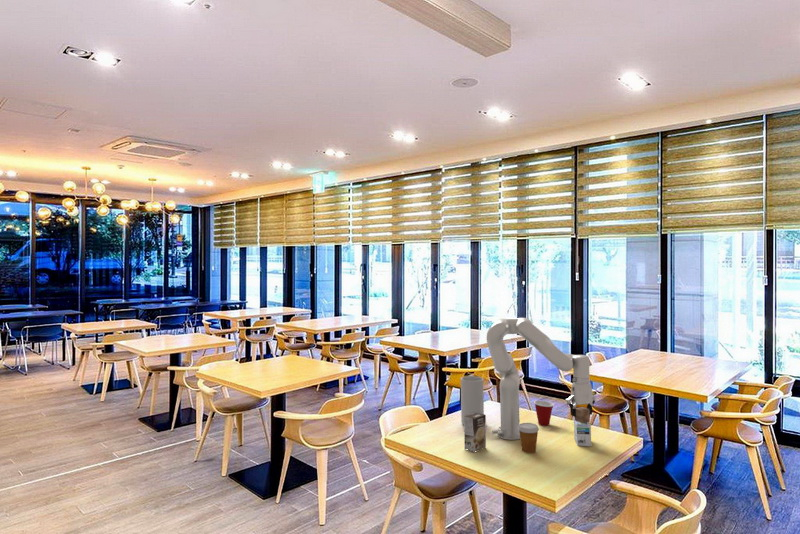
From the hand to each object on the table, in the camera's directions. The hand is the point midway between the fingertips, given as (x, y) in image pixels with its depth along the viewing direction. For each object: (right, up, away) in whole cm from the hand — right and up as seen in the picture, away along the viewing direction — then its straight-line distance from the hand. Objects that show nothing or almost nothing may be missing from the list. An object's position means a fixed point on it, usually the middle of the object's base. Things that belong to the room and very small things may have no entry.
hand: (581, 414), depth 244 cm
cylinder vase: (-49, -15, +32) cm, 61 cm away
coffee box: (-54, -15, -6) cm, 56 cm away
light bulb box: (0, -14, 0) cm, 14 cm away
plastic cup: (-10, -14, +29) cm, 34 cm away
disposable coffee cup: (-29, -14, -10) cm, 34 cm away
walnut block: (0, -3, 0) cm, 3 cm away
